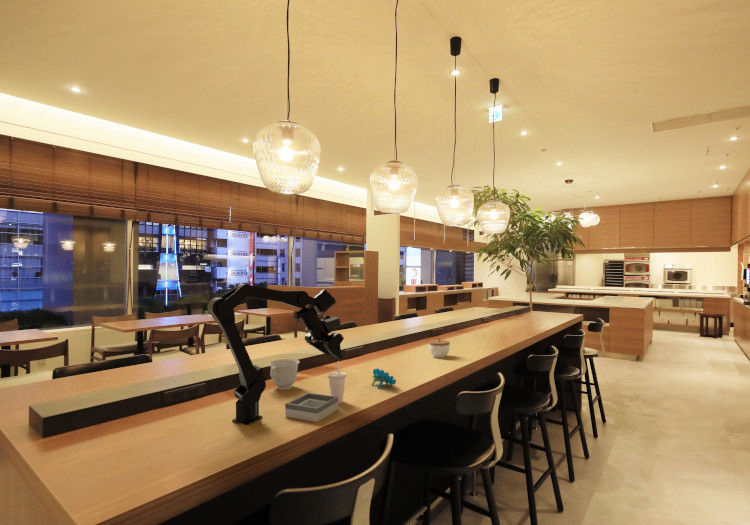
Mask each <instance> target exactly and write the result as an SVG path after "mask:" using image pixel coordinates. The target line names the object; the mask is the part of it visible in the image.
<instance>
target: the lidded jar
mask: <svg viewBox="0 0 750 525" xmlns="http://www.w3.org/2000/svg"><path fill="white" fill-rule="evenodd" d="M450 344H451V342H450V341H449V340H446V339H444V340H443V339H441V338H437V339H432V340H430V341H428V346H429V352H430V354H431V355H432V356H433V357H434V358H437V359H441V358H446V357H447V355H448V354H449V353H450V346H451V345H450Z"/></svg>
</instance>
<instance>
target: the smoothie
mask: <svg viewBox="0 0 750 525" xmlns="http://www.w3.org/2000/svg"><path fill="white" fill-rule="evenodd" d="M346 378H347V373H346V372H344V371H340V361H339V360H338V361H337V371H332V372H329V373H328V374H327V379H328V383H329V390H330V396H335V397H338V405H340V404H343V402H344V393H345V392H344V391H345V386H346V385H345V384H346ZM339 403H340V404H339Z"/></svg>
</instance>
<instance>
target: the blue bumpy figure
mask: <svg viewBox="0 0 750 525" xmlns="http://www.w3.org/2000/svg"><path fill="white" fill-rule="evenodd" d="M372 378H373V379H372V380H373V381H372V383H371V386H374V385H375V383H376V382H379V383H378V385H377V389H379V388H380V389H381V387H382V386H383V384H384V383H385V384H387V385H388V384H389V385H390V386H393V385H396V382H397V379H394V375H390V373H389V372H387V371H386V372H385V371H384V370H383V369H379V368H373V370H372Z"/></svg>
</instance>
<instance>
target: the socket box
mask: <svg viewBox="0 0 750 525" xmlns="http://www.w3.org/2000/svg"><path fill="white" fill-rule="evenodd" d="M284 406H285V407H284V408H285V410H284V411H285V415H284V416H285V418H292V419H297V420H298V419H299V420H303V421H307V422H308V421H309V422H314V423H318V422H320V421H322V420H323V419H325V418H326V417H328V416H330V415H331V414H333V413H335V412H336V411H338V410H339V404H338V397H335V396H331V395H327V394H319V393H313V392H307V393H304V394H302V395H300V396H299V397H296V398H294V399H292V400H289V401H287V402H285V403H284Z"/></svg>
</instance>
